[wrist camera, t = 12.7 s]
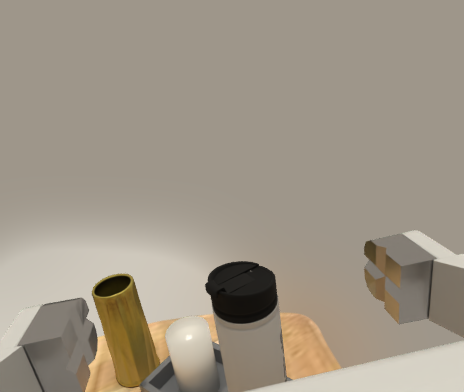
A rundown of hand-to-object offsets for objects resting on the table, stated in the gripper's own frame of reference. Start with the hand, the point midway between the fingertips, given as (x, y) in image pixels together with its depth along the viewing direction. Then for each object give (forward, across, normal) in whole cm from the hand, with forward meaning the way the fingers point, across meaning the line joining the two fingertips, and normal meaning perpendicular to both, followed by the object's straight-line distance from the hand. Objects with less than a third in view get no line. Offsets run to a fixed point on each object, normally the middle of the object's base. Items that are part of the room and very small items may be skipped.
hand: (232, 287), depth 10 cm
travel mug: (+18, -2, +32) cm, 36 cm away
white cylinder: (+25, +5, +31) cm, 40 cm away
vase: (+31, +14, +32) cm, 47 cm away
